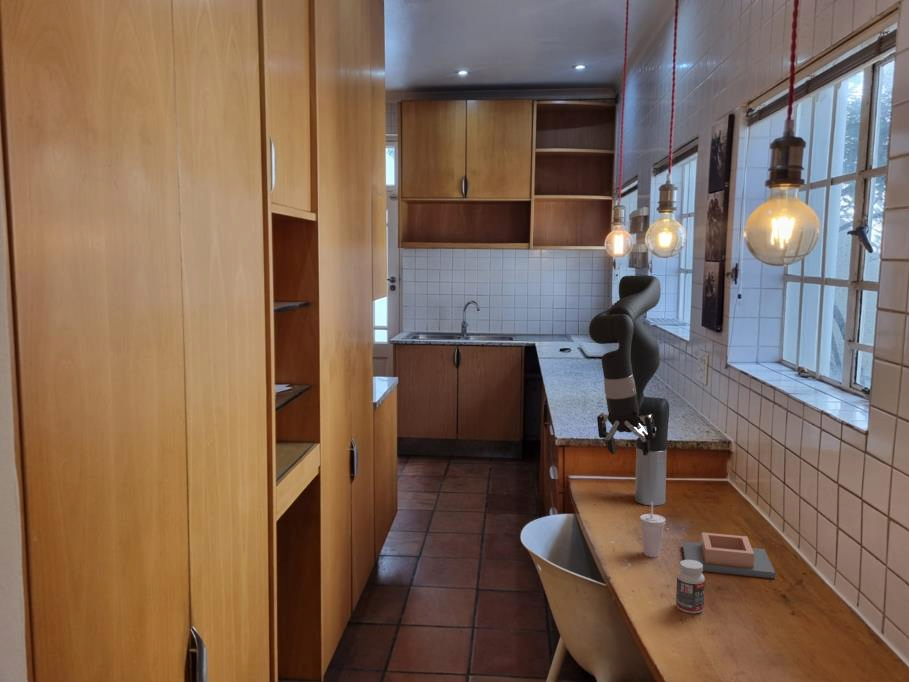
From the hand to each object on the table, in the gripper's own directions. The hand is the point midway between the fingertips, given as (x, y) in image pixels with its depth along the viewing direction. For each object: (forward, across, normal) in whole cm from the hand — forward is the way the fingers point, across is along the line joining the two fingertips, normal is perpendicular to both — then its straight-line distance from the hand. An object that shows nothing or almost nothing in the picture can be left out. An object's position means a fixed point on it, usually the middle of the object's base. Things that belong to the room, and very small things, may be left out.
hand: (629, 453), depth 172 cm
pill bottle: (+25, -18, +23) cm, 39 cm away
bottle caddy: (+30, -19, -5) cm, 36 cm away
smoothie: (+27, -2, +1) cm, 28 cm away
